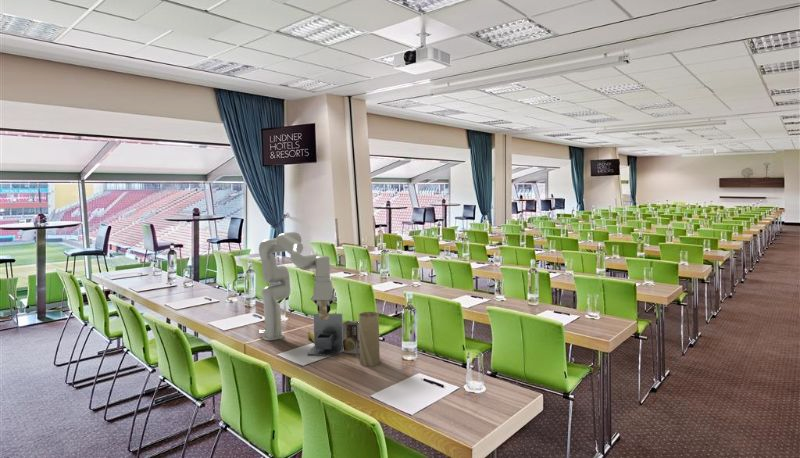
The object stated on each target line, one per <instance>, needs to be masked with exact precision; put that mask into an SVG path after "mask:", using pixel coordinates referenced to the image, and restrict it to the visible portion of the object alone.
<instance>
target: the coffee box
mask: <svg viewBox="0 0 800 458" xmlns="http://www.w3.org/2000/svg"><path fill="white" fill-rule="evenodd" d="M358 322H359V320H358V321H355V320H346V321H345V322H343V324H342V328H343V348H342V351H343V353H344V354H345V353H346V354H355V355H360V340H359V323H358Z"/></svg>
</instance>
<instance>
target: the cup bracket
mask: <svg viewBox="0 0 800 458" xmlns="http://www.w3.org/2000/svg"><path fill="white" fill-rule="evenodd" d="M343 321H344V320H343V313H330V312H329V318H328V319H327V320H320V315H319V313H318V312H317V313H316V312H314V313H313V334H314V342H313V343H314V346H313V347H311V349H310V350H309V352H308V353H307V354H306V355H307V356H308V357H309V356H310V357H338V355H339V353H341V351H342V350H343V328H342V324H343V323H344V322H343Z"/></svg>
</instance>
